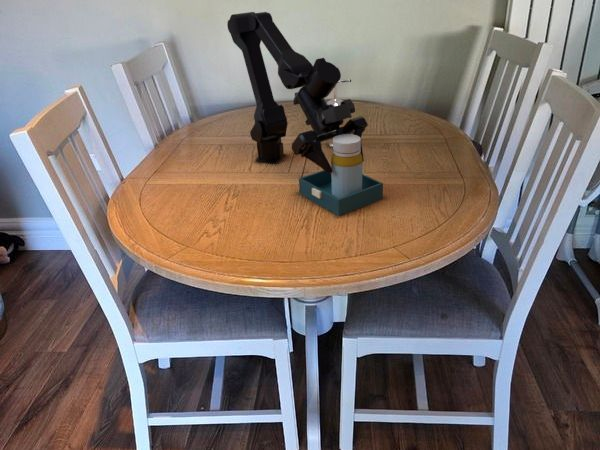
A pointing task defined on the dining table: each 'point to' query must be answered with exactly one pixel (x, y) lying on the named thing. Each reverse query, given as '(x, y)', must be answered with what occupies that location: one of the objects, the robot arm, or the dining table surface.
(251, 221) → the dining table surface
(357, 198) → the teal square tray
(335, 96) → the cup with straw
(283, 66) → the robot arm
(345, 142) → the bottle
